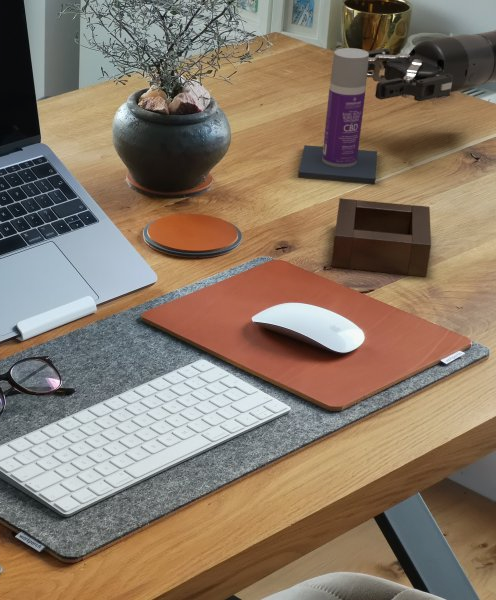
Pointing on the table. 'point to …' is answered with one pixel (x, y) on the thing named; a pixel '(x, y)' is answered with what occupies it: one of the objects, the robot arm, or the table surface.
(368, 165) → the mat
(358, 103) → the container
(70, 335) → the table surface
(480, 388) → the table surface
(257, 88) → the table surface
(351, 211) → the stand
